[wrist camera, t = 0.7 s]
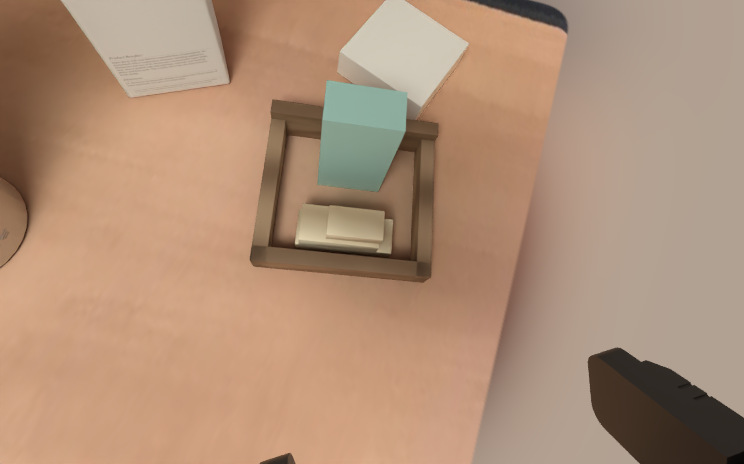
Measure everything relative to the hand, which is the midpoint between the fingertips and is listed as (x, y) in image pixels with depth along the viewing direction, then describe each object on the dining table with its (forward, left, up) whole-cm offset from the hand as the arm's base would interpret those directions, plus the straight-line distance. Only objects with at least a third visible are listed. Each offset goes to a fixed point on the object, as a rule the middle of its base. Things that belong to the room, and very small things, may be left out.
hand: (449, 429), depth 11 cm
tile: (-13, +27, -24) cm, 38 cm away
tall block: (-10, +14, -24) cm, 30 cm away
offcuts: (-7, +9, -24) cm, 27 cm away
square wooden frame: (-9, +12, -24) cm, 28 cm away
